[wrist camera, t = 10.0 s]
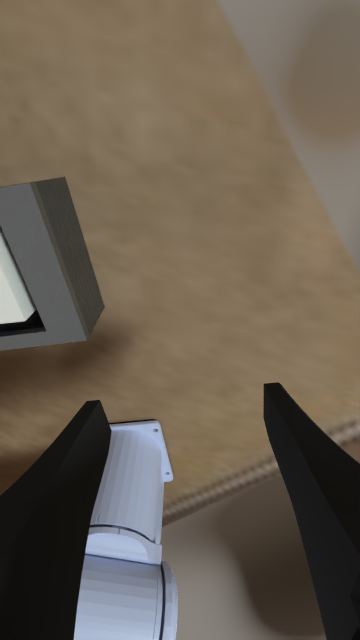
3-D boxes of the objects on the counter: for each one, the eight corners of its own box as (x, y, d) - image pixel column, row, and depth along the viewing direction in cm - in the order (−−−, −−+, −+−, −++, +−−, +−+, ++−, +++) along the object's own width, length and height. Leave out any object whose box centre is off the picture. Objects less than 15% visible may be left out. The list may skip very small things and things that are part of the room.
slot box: (104, 307, 22) (87, 340, 18) (5, 319, 22) (-33, 354, 18) (64, 176, 17) (29, 182, 13) (-57, 196, 18) (-125, 208, 14)
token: (57, 287, 21) (25, 321, 17) (31, 290, 21) (-8, 324, 17) (31, 217, 19) (-14, 235, 14) (3, 221, 19) (-51, 240, 15)
